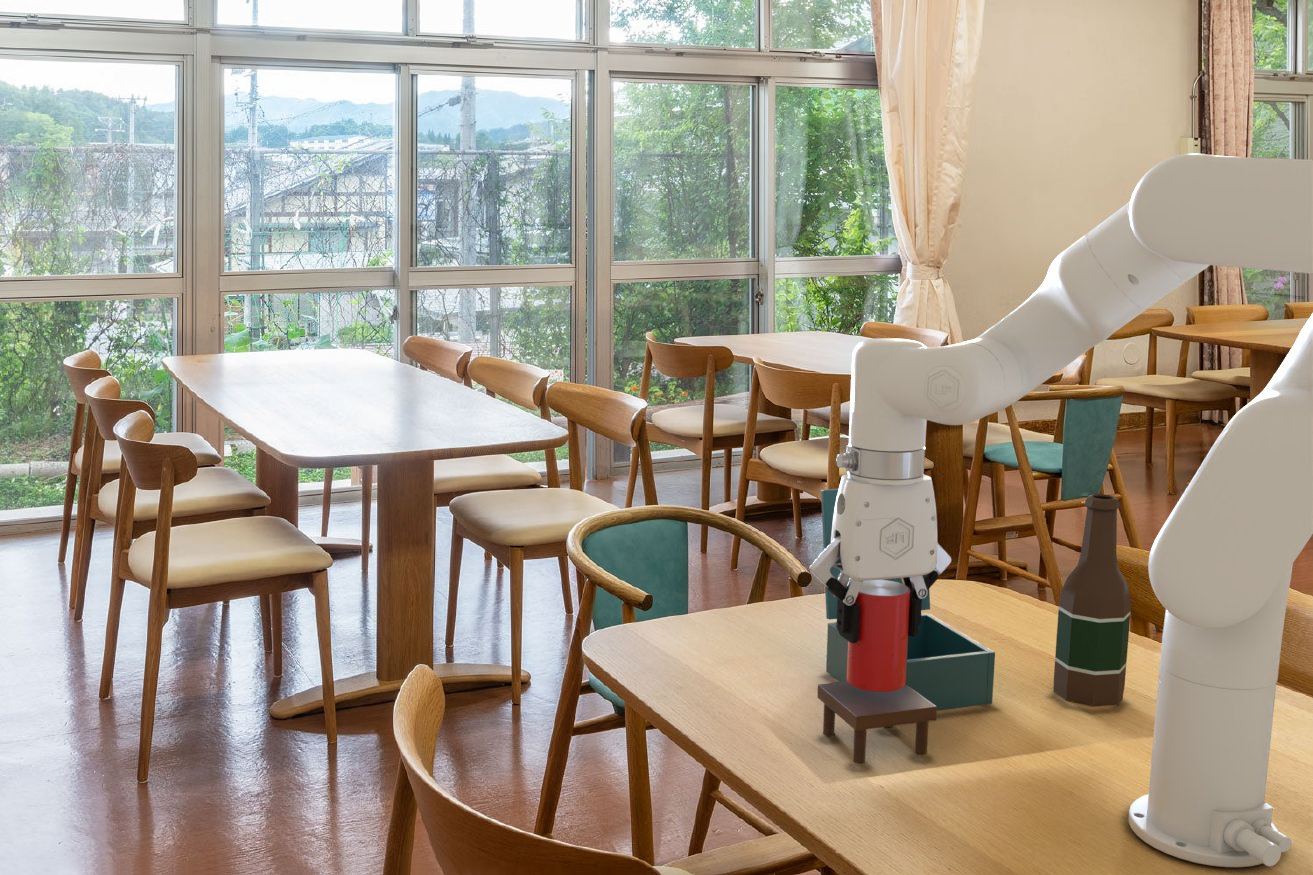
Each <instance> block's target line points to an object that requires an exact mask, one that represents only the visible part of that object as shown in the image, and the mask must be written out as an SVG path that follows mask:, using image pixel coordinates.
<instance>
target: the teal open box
mask: <svg viewBox="0 0 1313 875" xmlns="http://www.w3.org/2000/svg"><path fill="white" fill-rule="evenodd" d="M836 624H837V621H834V622H828V623H827V634H826V636H827V638H826V662H825V663H826V664H825V666H826V667H825V668H826V669H825V671H826V673H828V675H830V676H831V677H833V678H834V679H835V680H836V681H837V682H844V681H847V659H848V641H847V640H846V639H845V638H843V637H842V636H841V635H840V634H839V631H838V630H837V625H836ZM995 662H996V652H995V651H993V650H992V649H990V648H988V647H987V646H985V645H983V644H982V643H980V642H978V641H977V640H975V639H973V638H971V637H970V636H968V635H966V634H965V633H963V632H962V631H960V630H958V629H957V628H955V627H953V626H951V625H950V624H948V623H946V622H945V621H944V620H942V619H939V618H938V617H937V616H935V615H933V614H931V613H929V612H925V613H922V612H921V623H920V625H919V628H918V636H916V637H911V636H910V635H908V647H907V667H906V685H907V686H909V687H910V688H912V689H913V690H914V691H916V692H917V693H919V694H920V695H921V696H923V697H924V698H926V699H927V700H928V701H930V702H931V703H932V704H934V705H935V706H937V712H938V711H945V710H953V709H960V708H961V709H963V708H969V707H976V706H977V707H978V706H985V705H992V704H993V697H994V696H993V695H994V681H995V680H994V677H995Z"/></svg>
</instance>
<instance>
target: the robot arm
mask: <svg viewBox="0 0 1313 875" xmlns="http://www.w3.org/2000/svg"><path fill="white" fill-rule="evenodd" d="M1210 266H1216V267H1225V268H1236V269H1237V268H1238V269H1249V270H1263V271H1275V272H1289V273H1300V274H1310V275H1311V274H1312V275H1313V159H1306V158H1305V159H1303V158H1302V159H1300V158H1278V157H1277V158H1276V157H1275V158H1273V157H1272V158H1271V157H1248V156H1247V157H1246V156H1245V157H1243V156H1227V155H1216V154H1215V155H1214V154H1205V153H1182V154H1177V155H1174V156H1170V157H1169V158H1168V157H1167V158H1166V159H1164V160H1161V161H1160V162H1158V163H1157V164H1155V165H1154V166H1152V167H1151V168H1150V169H1149V170H1148V171H1147V172H1146V173H1144V175H1143V176H1142V177H1141V179H1139V181H1138V182H1137V184H1136V186H1135V187H1134V189H1133V192H1132V193H1131V198H1130V200H1129V201H1128V202H1127V203H1126V204H1124V205H1123V206H1122V207H1119V209H1118V210H1116V211H1115V212H1114V213H1112V214H1111V215H1110V216H1108V217H1107V218H1106V219H1104V220H1103V221H1102V222H1100V223H1099V224H1098V225H1096V226H1095V227H1094V228H1093V229H1091V230H1090V231H1088V232H1087V233H1085V234H1084V235H1083V236H1081V237H1080V238H1079V239H1078V240H1076V241H1075V242H1074V243H1072V244H1071V245H1070V246H1068V247H1067V248H1065V249H1064V250H1063V251H1062V252H1060V253H1059V254H1058V255H1057V256H1056V257H1055V258H1054V259H1053V261H1052V262H1051V264H1050V266H1049V267H1048V270H1047V274H1046V276H1045V278H1044V280H1043V281H1042V283H1041V285H1040V286H1038V288H1037V289H1036V290H1035V291H1034V292H1033V293H1032V294H1031V295H1030V296H1029V297H1028V298H1027V299H1026V300H1024V302H1023V303H1022V304H1020V305H1019V306H1018V307H1016V308H1015V309H1014V310H1013V311H1011V312H1009V314H1006V315H1005V317H1003V318H1001V319H1000V320H999V321H998V322H997V323H995V324H994V325H993V326H991V327H990V328H988V329H987V330H986V331H984V332H983V333H981V334H980V335H978V336H977V337H975V338H974V339H970V340H965V341H961V342H959V343H953V344H949V345H943V346H933V347H927V346H926V345H925V344H923V343H922V342H920V341H917V340H913V339H906V338H894V337H893V338H892V337H891V338H888V337H887V338H886V337H884V338H883V337H882V338H881V337H879V338H878V337H877V338H869V339H865V340H862V341H860V342H858V343H857V344H856V345H855V347H854V349H853V351H852V357H851V373H850V374H851V376H850V377H851V379H850V402H849V424H848V425H849V426H848V427H849V429H848V445H846V452H844V453H843V454H842V453H841V454H837V455H836V458H835V459H836V462H835V463H836V466H837V467H838V468H841V469H843V468H844V469H845V471H846V472H847V474H843V475H842V476H841V479H840V483H839V486H838V489H839V490H838V494H837V498H836V504H835V509H834V516H833V524H832V533H831V543H830V544H829V545H828V547H827V548H826V549H825V550H824V549H823V551H822V552H821V553H820V554H819V555H818V557H816V558H815V560H814V561H813V562H812V563H811V564H810V566H809V572H810V573H811V574H812V575H813V576H814V577H815V578H816V579H817V580H818V581H819V582H820V583H821V584H822V586H824V588H825V587H826V588H827V589H828V590H829V591H830V592H831V593H832V594H833V596H834V597H836V598H837V619H836V622H837V624H836V625H837V630H838V631H839V634H840V635H841V636H842V637H843V638H845V639H846V640H847V641H849V642H850V643H857V641H859V623H860V606H859V605H857V604H856V603H855V600H856V598H857V595H858V593H859V591H860V588H861V586H862V583H863V581H868V580H881V579H893V578H901V580H902V583H903V584H904V585H906V586H907V587H909V589H910V606H909V626H908V635H910V636H911V637H916V636H918V628H919V625H920V623H921V614H922V610H921V608H922V599H923V598H925V597H926V596H927V594H928V591H927V590H928V589H929V590H930V588H932V587H933V585H934V584H935V583H936V582H937V580H938V579H939V575H941V574H942V573H943V572H944V571H945V570H946V569H947V568H948V567H949V565H951V563H952V557H951V556H950V555H949V553H948V552H947V551H946V550H945V549H944V547H942V546H941V545H940V543H939V542H938V516H937V514H938V513H937V504H936V498H935V496H936V495H935V490H934V485H933V480H932V477H931V476H929V475H926V474H925V461H926V459H925V458H926V457H925V456H926V441H927V440H926V438H927V424H928V423H927V422H928V421H930V422H933V423H936V424H942V425H947V426H961V425H962V426H963V425H967V424H971V423H973V422H976V421H979V420H981V419H983V418H985V417H987V416H990V415H992V414H995V413H998V412H1001V411H1002V410H1005V409H1006V408H1008V407H1010V406H1011V405H1013V404H1015V403H1017V402H1018V401H1019V400H1021V399H1022V398H1023V397H1025V396H1027V395H1028V394H1029V393H1031V392H1032V391H1034V390H1035V389H1036V388H1038V387H1040V386H1041V385H1042V384H1043V383H1045V382H1047V381H1048V380H1049V379H1051V378H1052V377H1053V376H1055V375H1056V374H1058V373H1059V372H1060V371H1062V370H1064V369H1065V368H1066V367H1068V366H1069V365H1070V364H1072V363H1073V362H1074V361H1076V360H1077V359H1078V358H1080V357H1081V356H1083V355H1084V354H1085V353H1086V352H1088V351H1089V350H1091V349H1092V348H1094V347H1095V346H1097V345H1099V344H1101V343H1103V342H1105V341H1106V340H1107V339H1109V338H1110V337H1111V336H1112V335H1113V334H1114V333H1116V332H1117V331H1119V330H1120V329H1121V328H1123V327H1124V326H1126V325H1127V324H1129V323H1130V322H1131V321H1132V320H1134V319H1136V318H1137V317H1138V316H1140V315H1141V314H1142V313H1144V312H1146V311H1147V310H1148V309H1149V308H1151V307H1152V306H1153V305H1155V304H1156V303H1157V302H1159V301H1160V300H1162V299H1164V297H1166V296H1167V295H1169V294H1171V293H1172V292H1173V291H1175V290H1176V289H1177V288H1179V287H1180V286H1182V285H1183V284H1185V283H1186V282H1188V281H1190V280H1191V279H1193V278H1194V277H1197V275H1198V274H1200V273H1202V272H1203V271H1204V270H1206V269H1207V268H1208V267H1210ZM1312 536H1313V312H1312V313H1311V315H1310V317H1309V318H1308V319H1307V321H1306V323H1305V324H1304V326H1303V327H1302V329H1301V330H1300V332H1299V334H1298V336H1297V337H1296V339H1295V342H1294V344H1293V345H1292V346H1291V348H1290V350H1289V352H1288V353H1287V354H1286V356H1285V358H1284V359H1283V361H1282V362H1281V364H1280V365H1279V367H1278V369H1277V370H1276V372H1275V373H1274V374H1273V376H1272V378H1271V379H1270V381H1268V383H1267V384H1266V386H1265V388H1263V390H1261V392H1260V393H1259V394H1258V395H1256V396H1255V397H1254V398H1253V399H1252V400H1251V401H1250V402H1248V403H1247V404H1246V405H1245V406H1243V407H1242V408H1240V410H1239V411H1237V412H1236V413H1235V415H1233V416H1232V418H1231V419H1230V420H1229V421H1228V422H1227V423H1226V425H1225V427H1224V428H1223V430H1222V431H1221V432H1220V434H1219V435H1218V436H1217V438H1216V440H1215V441H1214V443H1213V444H1212V446H1211V447H1210V449H1209V450H1208V453H1207V454H1206V455H1205V457H1204V459H1203V461H1202V462H1201V464H1200V466H1199V467H1198V469H1197V470H1196V472H1195V474H1194V475H1193V477H1192V479H1191V480H1190V482H1189V483H1188V485H1187V486H1186V488H1185V490H1184V491H1183V493H1182V494H1181V496H1180V498H1179V500H1178V501H1177V503H1176V504H1175V506H1174V507H1173V510H1172V511H1171V512H1170V513H1169V515H1168V517H1167V518H1166V520H1165V522H1164V524H1163V525H1162V527H1161V528H1160V530H1159V532H1158V534H1157V535H1156V537H1155V539H1154V541H1153V543H1152V545H1151V548H1150V551H1149V557H1148V562H1147V564H1148V565H1147V567H1148V568H1147V569H1148V570H1147V571H1148V578H1149V582H1150V585H1151V588H1152V590H1153V593H1154V595H1155V597H1156V598H1157V600H1158V601H1159V603H1160V604H1161V605H1162V607H1163V608H1164V609H1165V612H1164V620H1163V621H1164V622H1163V627H1162V628H1163V629H1162V638H1161V648H1160V661H1159V668H1158V680H1157V690H1156V691H1157V692H1156V701H1155V702H1156V703H1155V713H1154V714H1155V715H1154V725H1153V736H1152V737H1153V738H1152V750H1151V762H1150V773H1149V785H1148V786H1149V787H1148V793H1146V794H1144V795H1142V796H1140V797H1138V798H1137V799H1134V800H1133V802H1131V803H1130V806H1129V810H1128V824H1129V827H1130V829H1131V830H1132V831H1133V832H1134V834H1135V835H1136V836H1137V837H1138V838H1139V839H1140V840H1142V841H1143V842H1144V843H1146V844H1147V845H1148V846H1150V847H1152V848H1154V849H1156V850H1158V851H1160V852H1161V853H1164V854H1166V855H1169V856H1171V857H1174V858H1178V859H1180V860H1183V861H1187V862H1190V863H1194V864H1199V865H1203V866H1204V865H1205V866H1211V867H1220V868H1246V867H1247V868H1248V867H1255V866H1258V865H1262V864H1263V865H1265V867H1273V866H1276V865H1277V864H1278V862H1279V861H1280V860H1281V857H1282V853H1286V852H1288V851H1289V850H1290V849H1291V846H1292V839H1291V838H1290V837H1289V836H1288V835H1286V834H1284V833H1282V832H1280V831H1279V829H1278V828H1277V827H1276V825H1275V823H1273V816H1274V815H1273V814H1274V806H1272V805H1271V804H1268V803H1267V802H1265V800H1266V789H1267V780H1268V772H1269V771H1268V770H1269V761H1270V760H1269V759H1270V751H1271V750H1270V749H1271V740H1272V730H1273V722H1274V721H1273V720H1274V712H1275V703H1276V702H1275V701H1276V693H1277V691H1276V690H1277V682H1278V679H1279V670H1280V660H1281V650H1282V644H1283V643H1282V642H1283V634H1284V626H1285V618H1286V614H1287V605H1288V599H1289V592H1290V587H1291V581H1292V575H1293V574H1292V573H1293V567H1294V566H1293V565H1294V562H1295V561H1296V560H1297V558H1298V557H1299V556H1300V554H1301V552H1302V551H1303V550H1304V548H1305V546H1306V545H1307V543H1308V542H1309V540H1310V539H1311V537H1312ZM832 566H833V567H835V568H836V569H839V570H841V572H840V575H839V577H838V580H837V579H836V578H835V577H834V576H833V575H832V574H831V573H830V568H831V567H832Z"/></svg>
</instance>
